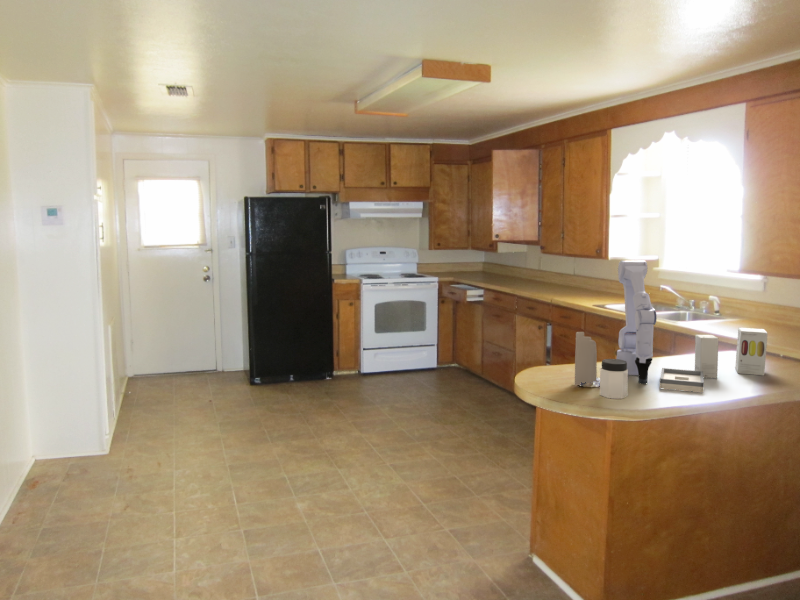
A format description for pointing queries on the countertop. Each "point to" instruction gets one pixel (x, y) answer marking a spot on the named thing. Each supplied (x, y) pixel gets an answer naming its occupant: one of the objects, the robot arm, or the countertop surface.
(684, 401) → the countertop surface
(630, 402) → the countertop surface
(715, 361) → the skincare box
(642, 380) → the peg
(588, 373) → the beige stepped upright panel
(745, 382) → the countertop surface
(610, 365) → the jar
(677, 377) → the tray
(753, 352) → the supplement box
